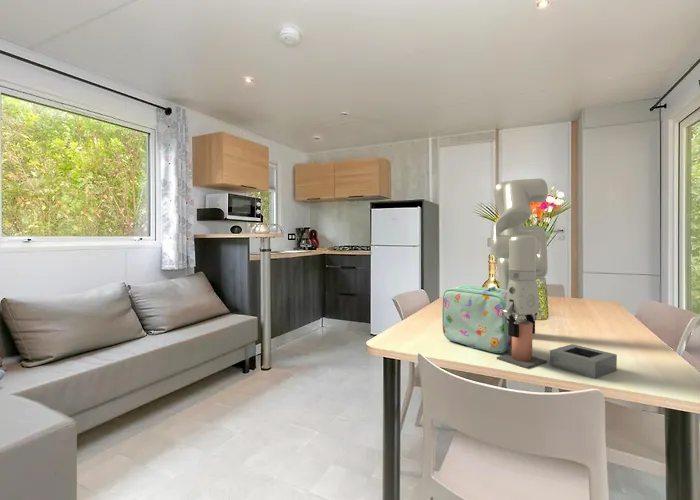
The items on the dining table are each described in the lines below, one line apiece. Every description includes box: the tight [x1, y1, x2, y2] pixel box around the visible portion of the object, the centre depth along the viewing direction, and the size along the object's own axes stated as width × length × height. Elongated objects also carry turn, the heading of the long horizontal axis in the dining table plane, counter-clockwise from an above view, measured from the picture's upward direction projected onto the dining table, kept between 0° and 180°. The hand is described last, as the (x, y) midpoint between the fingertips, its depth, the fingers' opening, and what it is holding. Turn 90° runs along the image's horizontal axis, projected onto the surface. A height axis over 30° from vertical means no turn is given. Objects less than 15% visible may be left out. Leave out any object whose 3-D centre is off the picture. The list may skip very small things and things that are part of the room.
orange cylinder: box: [511, 319, 534, 362], centre depth 110 cm, size 6×6×12 cm
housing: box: [549, 343, 618, 380], centre depth 104 cm, size 12×12×4 cm
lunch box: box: [441, 284, 520, 354], centre depth 125 cm, size 27×10×21 cm, turn 37°
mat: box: [496, 352, 548, 369], centre depth 110 cm, size 10×10×1 cm
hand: (521, 334), depth 110 cm, fingers open, 7 cm apart
